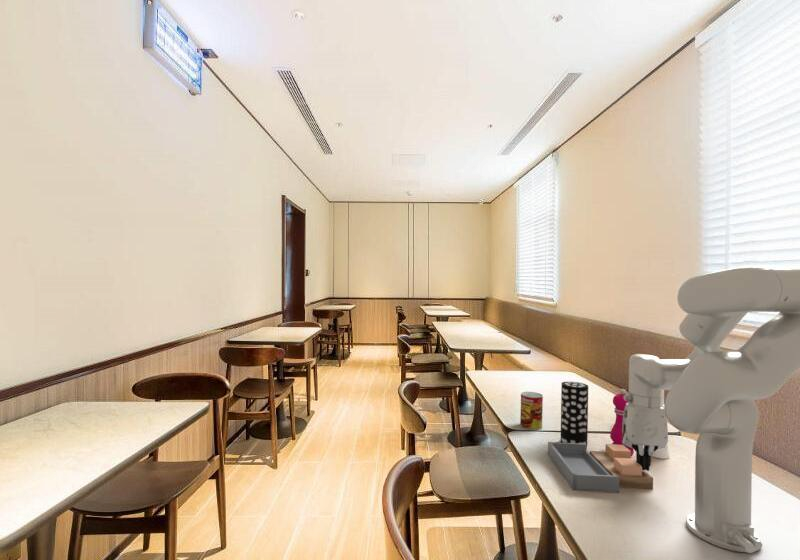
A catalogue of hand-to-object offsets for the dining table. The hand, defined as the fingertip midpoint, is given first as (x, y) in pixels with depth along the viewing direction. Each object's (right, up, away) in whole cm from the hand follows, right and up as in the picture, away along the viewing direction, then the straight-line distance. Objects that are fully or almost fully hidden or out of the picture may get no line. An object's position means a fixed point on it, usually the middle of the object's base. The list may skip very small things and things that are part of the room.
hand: (643, 468), depth 109 cm
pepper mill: (+6, -5, +21) cm, 23 cm away
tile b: (-2, -1, +10) cm, 10 cm away
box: (-15, -4, +6) cm, 16 cm away
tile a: (-4, -1, 0) cm, 4 cm away
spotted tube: (-8, -4, +26) cm, 28 cm away
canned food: (-17, -4, +43) cm, 46 cm away
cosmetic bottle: (+16, -5, +19) cm, 25 cm away
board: (-4, -4, +5) cm, 7 cm away
